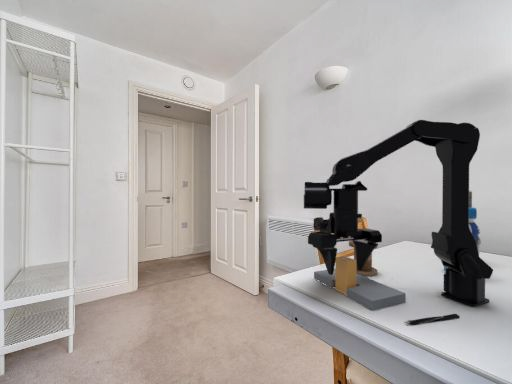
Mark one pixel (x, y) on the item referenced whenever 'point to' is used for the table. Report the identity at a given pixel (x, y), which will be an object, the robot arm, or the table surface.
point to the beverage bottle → (472, 227)
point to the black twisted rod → (431, 319)
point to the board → (366, 291)
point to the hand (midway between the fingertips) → (345, 272)
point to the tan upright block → (345, 273)
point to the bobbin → (367, 269)
